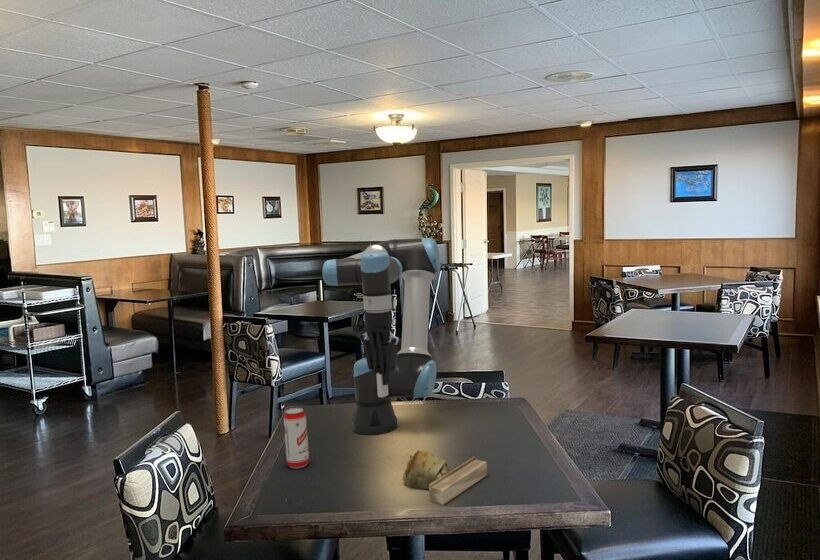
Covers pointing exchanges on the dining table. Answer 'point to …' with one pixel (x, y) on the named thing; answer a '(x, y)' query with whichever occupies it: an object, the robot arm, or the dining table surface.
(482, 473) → the wooden block
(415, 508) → the dining table surface
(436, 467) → the pastry
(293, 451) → the beer can
